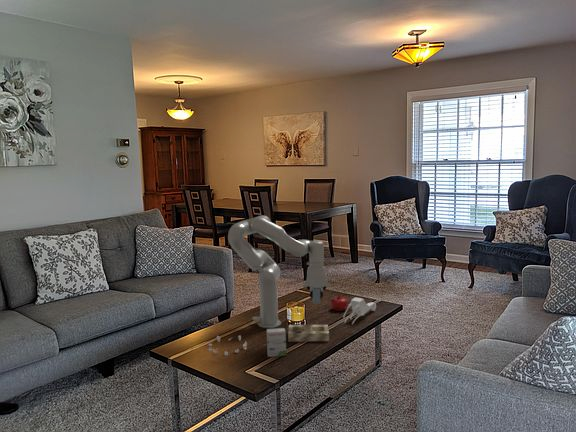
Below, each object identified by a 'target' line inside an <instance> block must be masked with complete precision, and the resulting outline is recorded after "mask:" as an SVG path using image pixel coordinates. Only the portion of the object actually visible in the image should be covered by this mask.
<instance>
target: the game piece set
mask: <svg viewBox="0 0 576 432" xmlns="http://www.w3.org/2000/svg"><path fill="white" fill-rule="evenodd" d="M237 338H238V340H239V342H241V340H242V336H241V334H240V335H238V337H237ZM216 339H217V342H218V343H220V341H221V337H220V336H219V335H217V336H216ZM231 340H232V338H228V340H227V341H231ZM212 343H213V340H211V341H210V343H208V344H207V345H208V348H207V351H208V352H211V351H212V353H213V354H215V355H216V354H217V353H218V351H217V350H218V348H216V349H214V348H213V349H212V347H213V344H212ZM247 345H248V342H247V341H246V340H245V342H244V343H243V344H242V347H243V350H247V348H248V347H247ZM234 352H235V353H237V354H238V353H239V352H240V349H239V348H237V349H235V350H234ZM217 355H218V354H217ZM223 356H229V352H228V351H224V353H223Z"/></svg>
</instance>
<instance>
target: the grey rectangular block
mask: <svg viewBox="0 0 576 432" xmlns="http://www.w3.org/2000/svg"><path fill="white" fill-rule="evenodd" d="M320 290H321V288H320V287H313V288H312V291H313V299H311V300H312V304H321V299H320Z"/></svg>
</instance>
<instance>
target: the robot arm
mask: <svg viewBox="0 0 576 432" xmlns="http://www.w3.org/2000/svg"><path fill="white" fill-rule="evenodd" d="M253 234H259V235H261V236H263V237H265V238H267V239H268V240H270V241H272V242H274V243H275V244H276V245H277V246H278V247H280V248H281V249H283V250H284V251H285V252H288V253H289V254H291V255H293V256H296V257H298V258H299V257H304V256H305V255H307V254H309V261H306V266H307V265H308V267H307V270H306V271H307V272H306V280H305V281H304V283H303V284H302V286H303V287H304V288H306V289H307V290H308V292H309V297H310V298H311V300H312V299H313V287H320V300H322V298H323V297H324V296H323V295H324V291H325V290H326V289H327V288H329V287H330V283H329V282H328V280H327V270H326V266H324V265H325V263H324V262H325V258H324V257H325V255H324V254H325V246H324V245H325V244H324V242H323V241H321V240H309V239H299V240H296V239H295V238H293V237H291V236H290V235H288V234H287V232H286V231H285V229H284V228H283V227H281V226H280V225H277V224H276V223H273V222H272V221H271V219H270V218H269V217H268V216H267V215H263V214H261V215H258V216H256V217H252V218H248V219H245V220H241V221H239V222H236V223H234V224H232V225H231V227H230V228H229V230H228V233H227V240H228V244H229V245H230V247H231V248H232V249H233V250H234V251H235V252H236V254H237V255H238V257H240V258H241V260H242V261H243V262H244V263H245V264H246V265H247V266H248V268H249V269H251V270H253V271H257V270H260V271H259V274H258V277H257V279H258V280H257V281H258V287H259V306H260V307H259V309H260V310H259V311H260V312H259V313H260V314H259V315H258V316H253V317H252V318H251V319H252V321H253V322H257V326H258V327H260V328H262V329H276V328H278V327H280V326H281V325H282V322H281V320H280V319H279V308H278V307H279V306H278V305H279V303H278V300H279V299H278V286H277V280H278V279H279V278H281V277H280V276H281V269H280V267H279V266H278V264H277V263H276V261H275V260H273V259H272V258H271V256H270V255H269V254H268V253H267V252H266V251H265V250H263V249H255V248H254V247H253V245H251V243H249V242H248V241H247V239H246V237H247V236H249V235H253Z"/></svg>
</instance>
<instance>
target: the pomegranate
mask: <svg viewBox="0 0 576 432" xmlns="http://www.w3.org/2000/svg"><path fill="white" fill-rule="evenodd" d="M348 302H349V301H348V300H347V299H346V297H344V296H342V295H341V296H340V294H337V296H333V299H331V303H330V306H331V308H332V310H334V311H335V312H342V311H346V310H347V307H348V305H349V303H348Z"/></svg>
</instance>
